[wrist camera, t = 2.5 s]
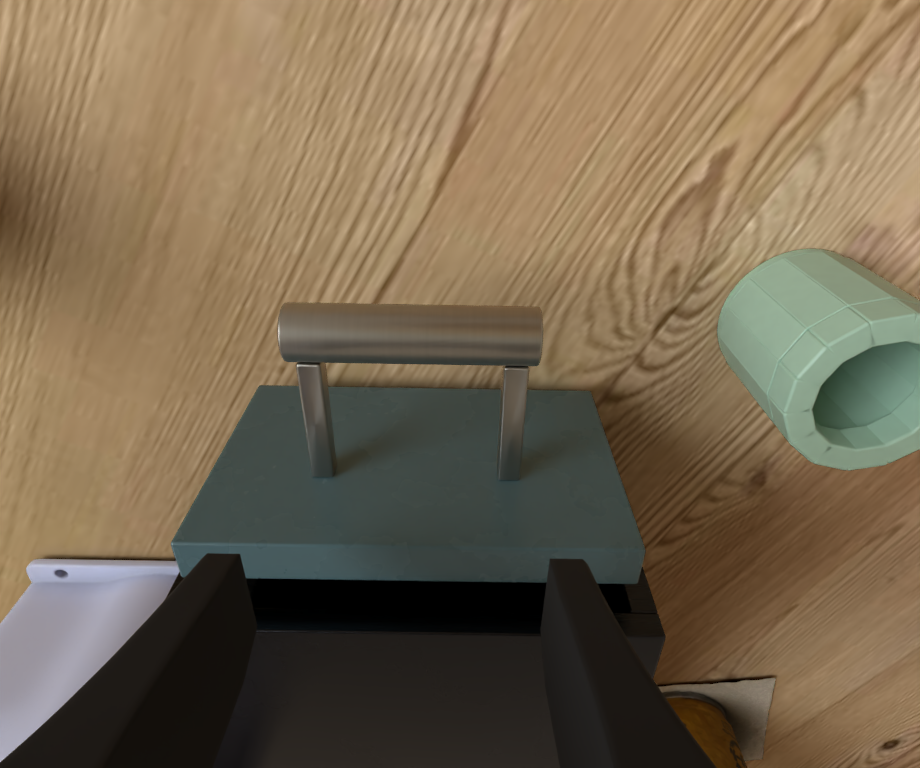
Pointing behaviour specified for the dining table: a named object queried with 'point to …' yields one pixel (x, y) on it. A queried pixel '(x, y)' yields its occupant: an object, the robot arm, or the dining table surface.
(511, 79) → the dining table surface
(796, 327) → the jar
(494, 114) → the dining table surface
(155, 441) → the dining table surface
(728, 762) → the condiment
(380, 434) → the drawer
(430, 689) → the cabinet
